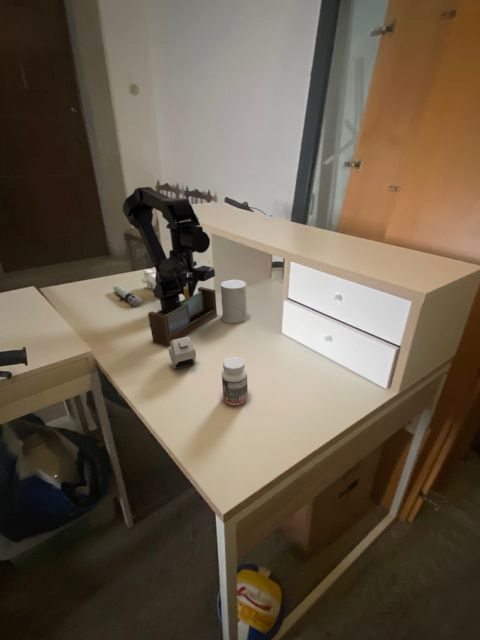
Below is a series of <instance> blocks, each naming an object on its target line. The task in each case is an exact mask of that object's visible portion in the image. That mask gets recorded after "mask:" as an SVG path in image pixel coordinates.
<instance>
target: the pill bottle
mask: <svg viewBox="0 0 480 640" xmlns="http://www.w3.org/2000/svg"><path fill="white" fill-rule="evenodd" d="M245 365H246V364H245V360H244V359H243V358H241V357H236V356H231V357H227V358H226V359H224V361H223V362H222V369H223V370H222V371H221V381H222V382H221V385H222V397H223V401H224V402H225V403H227V404H228V405H231V406H238V405H242V404H244V403H245V402H246V401H247V400H248V397H249V393H248V392H249V390H248V372H247V369H246V368H245V367H246V366H245Z"/></svg>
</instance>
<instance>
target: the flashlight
mask: <svg viewBox="0 0 480 640" xmlns="http://www.w3.org/2000/svg"><path fill="white" fill-rule="evenodd" d="M112 289H113V291H114V292H115V293H116V294H117V295H118V296H119V297H120V298H119V301H122V300H125V301H126V302H127V303H129V304H130V305H131V306H133V307H134V308H135V307H139V306H140V305H141V299H140V298H139V297H137V296H136V295H134V294H133V293H131V292H130V291H128V290H126V289H125V288H123V287H121V286H119V285H114V286H113V287H112Z"/></svg>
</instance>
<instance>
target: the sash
mask: <svg viewBox="0 0 480 640" xmlns="http://www.w3.org/2000/svg"><path fill="white" fill-rule="evenodd" d="M183 289H184V297H183V298H184V299H182V300H180V303H181V306H183V305H185V304H188V308H189V316H190V317H191V316H193V315H195V314H196V313H198V312H200V311H202V310H203V309H204V307H203V296H202V292H201V291H200V292H198V291H197V292H196V293H195V294H193V296H192V297H189V293H188V286H187V287H184V288H183Z"/></svg>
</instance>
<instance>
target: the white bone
mask: <svg viewBox="0 0 480 640" xmlns="http://www.w3.org/2000/svg"><path fill="white" fill-rule="evenodd" d="M155 276H156V269H155V267H154V266H153V267H152V268H151V269H144V270H143V276H142V278H141V282H142V283H143V284H146V287H147V288H148V289H149V290H150V289H151V290H152V291H153V290H154V288H155V286H156V281H155Z"/></svg>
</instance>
